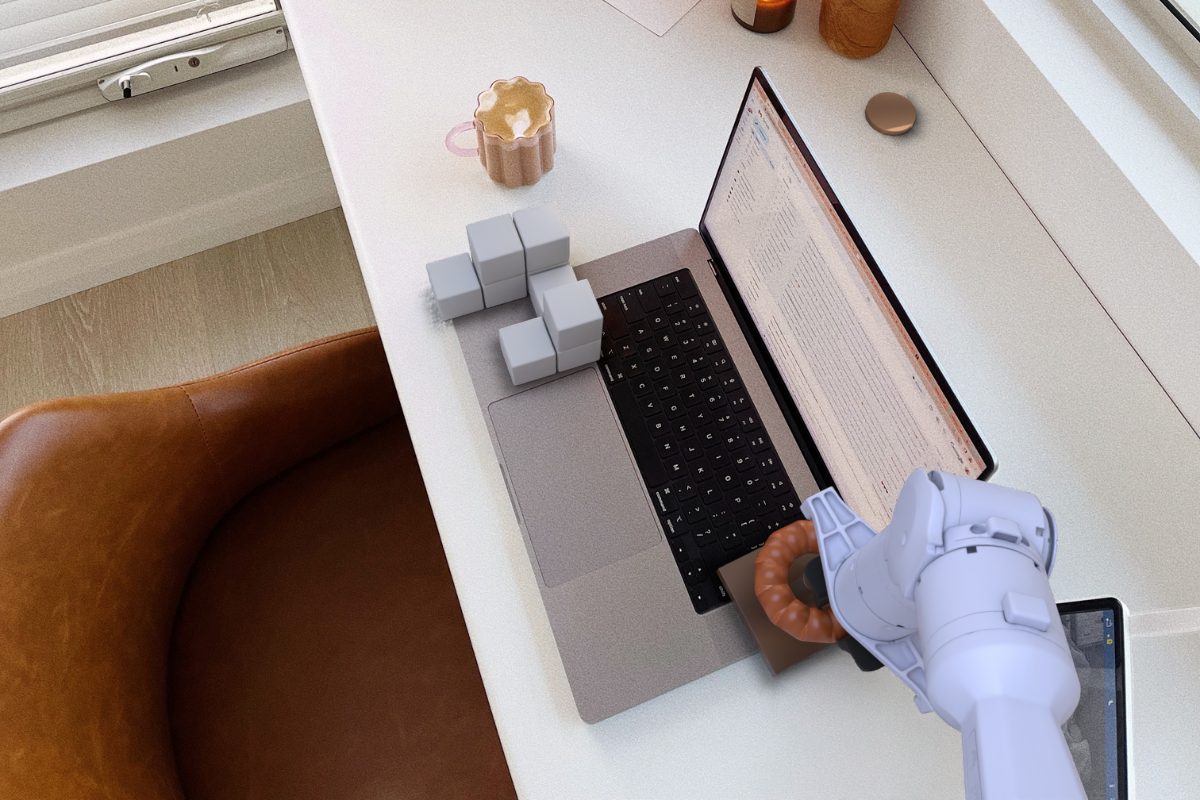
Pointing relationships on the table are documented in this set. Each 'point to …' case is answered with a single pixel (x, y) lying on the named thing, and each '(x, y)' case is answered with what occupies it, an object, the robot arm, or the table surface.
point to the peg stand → (767, 636)
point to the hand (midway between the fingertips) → (839, 619)
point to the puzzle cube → (524, 290)
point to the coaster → (890, 113)
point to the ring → (777, 592)
